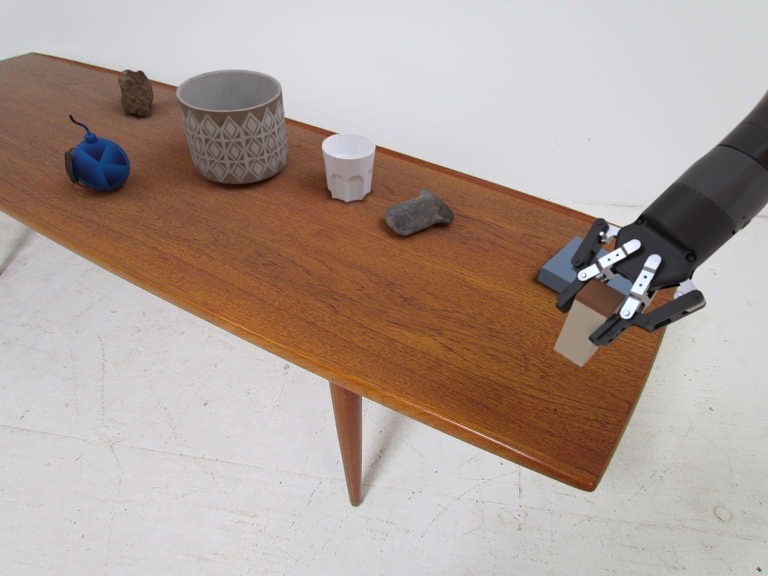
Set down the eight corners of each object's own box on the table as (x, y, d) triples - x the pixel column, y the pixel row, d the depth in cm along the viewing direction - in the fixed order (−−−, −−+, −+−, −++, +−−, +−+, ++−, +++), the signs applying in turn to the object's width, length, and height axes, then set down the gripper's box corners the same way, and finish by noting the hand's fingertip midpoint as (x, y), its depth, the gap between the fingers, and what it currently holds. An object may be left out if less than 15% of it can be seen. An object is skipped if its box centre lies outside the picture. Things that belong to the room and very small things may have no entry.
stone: (380, 223, 97) (400, 252, 90) (374, 202, 94) (394, 230, 87) (435, 199, 99) (459, 225, 92) (431, 177, 95) (456, 203, 88)
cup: (380, 200, 98) (382, 155, 92) (331, 208, 96) (329, 162, 89) (365, 174, 105) (366, 130, 98) (318, 181, 102) (316, 136, 96)
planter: (177, 182, 100) (154, 102, 88) (221, 138, 114) (207, 64, 102) (267, 198, 97) (256, 117, 86) (302, 151, 111) (296, 76, 99)
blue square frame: (641, 284, 84) (648, 271, 82) (609, 321, 77) (617, 308, 75) (571, 248, 90) (576, 235, 88) (537, 280, 83) (541, 267, 81)
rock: (142, 120, 118) (122, 76, 112) (124, 119, 121) (103, 77, 114) (170, 104, 124) (152, 62, 118) (152, 104, 127) (134, 63, 121)
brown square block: (597, 350, 57) (626, 295, 51) (581, 368, 55) (609, 313, 49) (569, 332, 59) (593, 277, 53) (552, 349, 57) (576, 293, 51)
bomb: (73, 181, 98) (40, 108, 88) (131, 169, 103) (106, 97, 92) (79, 207, 92) (44, 131, 82) (141, 193, 97) (115, 119, 86)
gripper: (641, 152, 51) (519, 273, 55) (773, 231, 42) (616, 369, 46) (655, 186, 56) (544, 293, 60) (775, 262, 47) (635, 382, 51)
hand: (576, 325), depth 53 cm, fingers closed on brown square block, 4 cm apart
